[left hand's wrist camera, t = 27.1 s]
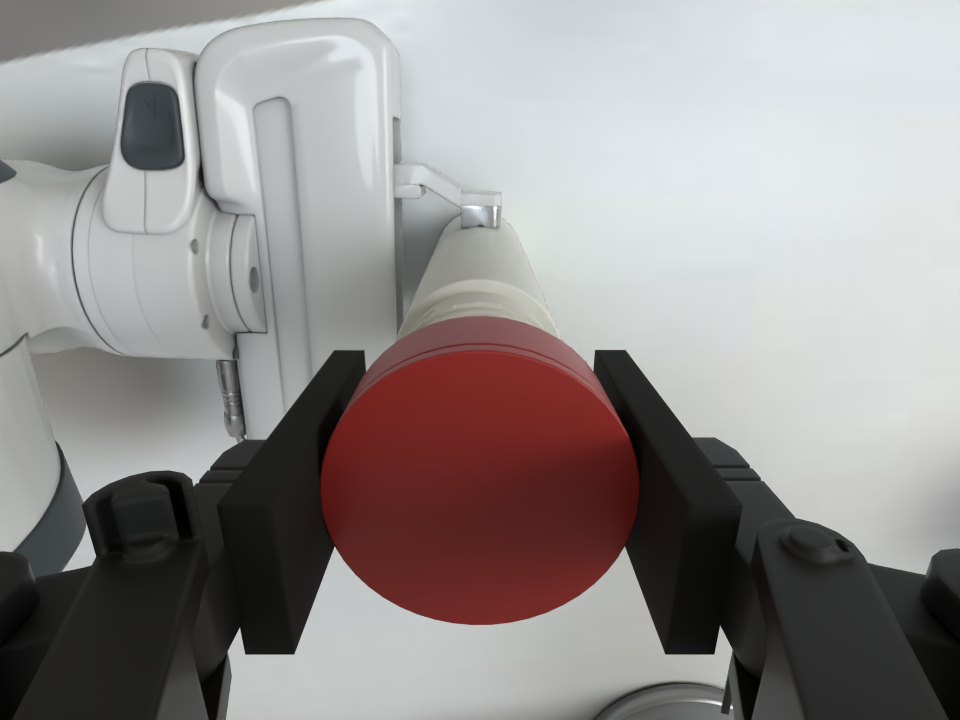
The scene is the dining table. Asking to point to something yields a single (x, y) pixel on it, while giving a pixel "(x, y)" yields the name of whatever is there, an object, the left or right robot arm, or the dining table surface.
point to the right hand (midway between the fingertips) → (498, 275)
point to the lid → (479, 474)
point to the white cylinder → (478, 280)
